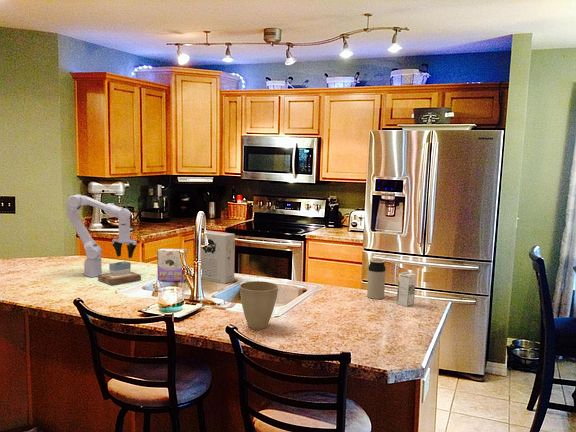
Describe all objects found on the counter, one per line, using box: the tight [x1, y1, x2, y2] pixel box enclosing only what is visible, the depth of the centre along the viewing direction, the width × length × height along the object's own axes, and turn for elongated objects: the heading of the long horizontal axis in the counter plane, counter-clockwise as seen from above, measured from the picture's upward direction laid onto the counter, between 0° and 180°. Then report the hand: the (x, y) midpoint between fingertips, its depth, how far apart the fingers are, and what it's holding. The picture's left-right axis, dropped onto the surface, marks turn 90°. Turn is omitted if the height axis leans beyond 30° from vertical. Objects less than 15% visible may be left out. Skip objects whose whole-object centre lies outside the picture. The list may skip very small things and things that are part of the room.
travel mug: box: [366, 258, 387, 300], centre depth 242 cm, size 8×8×18 cm
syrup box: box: [396, 271, 417, 307], centre depth 231 cm, size 6×6×14 cm
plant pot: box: [239, 280, 279, 330], centre depth 196 cm, size 15×15×16 cm
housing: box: [108, 260, 132, 277], centre depth 260 cm, size 9×5×6 cm, turn 137°
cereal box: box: [193, 229, 236, 284], centre depth 268 cm, size 22×8×25 cm, turn 58°
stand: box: [97, 271, 142, 286], centre depth 261 cm, size 14×16×3 cm
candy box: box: [156, 248, 187, 283], centre depth 263 cm, size 14×6×16 cm, turn 84°
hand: (124, 257), depth 272 cm, fingers open, 7 cm apart
